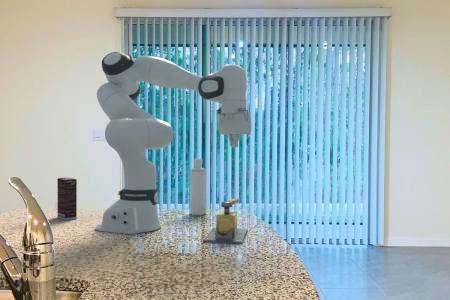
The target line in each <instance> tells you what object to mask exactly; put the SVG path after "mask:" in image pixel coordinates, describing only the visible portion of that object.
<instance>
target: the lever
mask: <svg viewBox="0 0 450 300" xmlns="http://www.w3.org/2000/svg"><path fill="white" fill-rule="evenodd" d="M239 203H240V198H232V199H229V200H226V201H224V200H223V201H221V204H220V205H221V208H224V207H230V208H233V205H237V204H239Z"/></svg>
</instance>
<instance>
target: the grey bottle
mask: <svg viewBox="0 0 450 300" xmlns="http://www.w3.org/2000/svg"><path fill="white" fill-rule="evenodd" d="M193 164H194V167H192V168H191V169H190V170H189V171H190V173H189V175H190V176H189V214H190V215H191V214H192V216H204V215H206V214H207V212H206V211H207V210H206V209H207V201H206V200H207V169H205V168H204V167H203V166H202V165H203V158H193Z"/></svg>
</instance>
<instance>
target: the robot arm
mask: <svg viewBox="0 0 450 300" xmlns="http://www.w3.org/2000/svg"><path fill="white" fill-rule="evenodd" d="M101 68H102V71H103V73H104V75H105V77H106V80H107V82H105V83H103V84H102V85H100V86H99V87H98V89H97V91H96V99H97V101H98V105H100V107H101V109H102V111H103V112H104V113H105V115H106V116H107V117H108V119H109V120H110V121H109V122H108V123H107V125H106V126H105V128H104V138H105V142H106V143H107V144H108V146H109V147H110V148H112V149H113V150H114V151H115V152H116V153H117V155H118V156H119V159H120V160H121V163H122V167H123V175H124V176H123V178H124V180H123V181H124V188H122V189H121V190H119V191H117V196H119V199H118V200H117V201H115V202H114V203H113V204H112V205H110V206H109V207H107V208H106V209H105V210H104V212H103V215H102V221H101V222H100V223H98V224H97V225H95V231H97V232H98V231H100V232H107V233H116V234H117V233H118V234H127V235H132V234H138V233H139V234H140V233H145V232H153V231H157V230H159V229H160V228H161V227H162V226H161V221H160V219H159V213H158V200H159V191H158V188H157V167H156V165H155V164H154V163H153V162H152V161H150V160H148V158H147V157H146V156H145V153H144V152H145V151H144V150H159V149H163V148H166V147H169V146H170V145H171V143H172V141H173V138H174V130H173V128H172V126H171V124H170V123H169V122H167V121H165V120H163V119H159V118H157V117H156V116H154V115H152V114H151V113H150V112H148V111H146V110H144V109H143V108H141V107H140V106H139V105H137V104H136V102H135V100H137V98H138V97H139V96H140V95H141V84H140V83H139V82H145V83H148V84H151V85H153V86H157V87H160V88H168V89H169V88H171V89H186V90H192V91H195V92H198V94H199V96H200V97H201V98H202V99H205V100H206V101H210V102H215V103H219V104H221V105H220V106H219V108H217V111H216V113H217V116H218V118H217V129H218V133H219V135H223V136H225V135H228V140H229V146H230V148H238V146H239V140H240V138H241V135H250V134H251V133H252V118H251V114H250V112H249V110H248V109H247V97H246V92H247V74H246V70H245V68H244V67H242V66H240V65H237V64H232V63H228V64H225V65H223V67H222V68H220V69H219V70H217V71H214V72H213V73H210V74H206V75H203V76H201V75H198V74H195V73H193V72H190V71H189V70H187V69H184V68H183V67H181V66H179V65H178V64H176V63H174V62H172V61H170V60H168V59H165V58H163V57H158V56H154V55H153V56H151V55H140V56H137V57H136V58H135V59H134V57H133V56H132V55H130V54H126V53H124V52H119V51H112V52H110V53H108V54H106V55H105V56H103V58H102V60H101Z"/></svg>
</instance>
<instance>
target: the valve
mask: <svg viewBox="0 0 450 300" xmlns="http://www.w3.org/2000/svg"><path fill="white" fill-rule="evenodd" d="M230 209H231V207H223V211H220V210H219V211H218V212H217V213H216V216H215V219H216V220H215V227H213V228H212V229H210V231H209V232H208V233H207V235H206V236H205V237H204V238H203V240H202V242H203V243H206V242H210V244H228V245H229V244H231V245H242V244H243V243H244V240H245V239H246V236H247V233H248V228H238V212H237V211H230Z"/></svg>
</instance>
